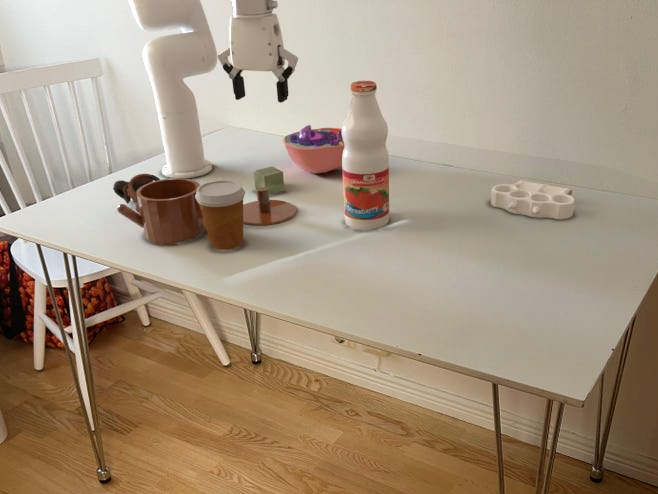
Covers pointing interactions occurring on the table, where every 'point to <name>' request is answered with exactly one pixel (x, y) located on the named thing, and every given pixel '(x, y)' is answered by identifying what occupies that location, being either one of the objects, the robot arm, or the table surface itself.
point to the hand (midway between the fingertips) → (261, 99)
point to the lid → (267, 210)
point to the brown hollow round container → (170, 211)
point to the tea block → (269, 179)
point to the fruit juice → (365, 160)
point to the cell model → (316, 149)
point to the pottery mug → (132, 187)
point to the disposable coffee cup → (222, 212)
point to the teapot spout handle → (130, 214)
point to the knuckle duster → (534, 200)
